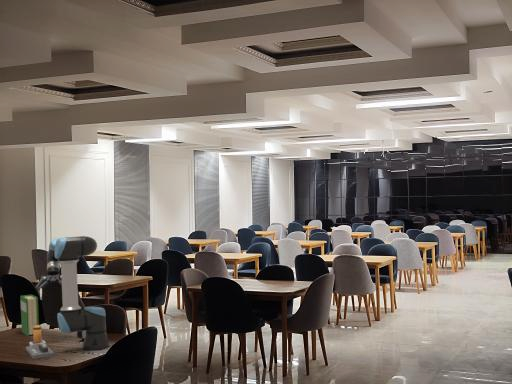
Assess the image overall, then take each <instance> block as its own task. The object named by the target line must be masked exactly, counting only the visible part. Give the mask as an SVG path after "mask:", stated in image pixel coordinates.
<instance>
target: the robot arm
mask: <svg viewBox="0 0 512 384" xmlns="http://www.w3.org/2000/svg"><path fill="white" fill-rule="evenodd" d="M48 245H49V246H48V250H47V254H46V261H47V262H46V276H44V275H41V277H40V280H39V281H38V283H36V285H35V290H36V291H38V295H40V296H39V299H40V300H43V289H44V288H45V287H46V286H47V285H49V284H50V283H51V284H53V283H54V284H55V283H56V284H57V283H58V284H59V285H60V286H61V293H62V294H61V297H62V298H61V300H62V306H61V308H60V310H59V311H60V312H58V313H57V314H56V316H57V324H58V328H59V331H60V332H61V333H63V334H67V333H68V334H69V333H70V334H71V333H78V331H86V335H85V338H83V339H84V340H83V343H82V349H83V350H87V351H97V350H105V349H108V348H109V347H110V345H111V342H110V340H109V337H108V334H107V324H106V323H107V321H106V320H107V319H106V316H107V315H106V309H105V308H104V307H100V306H85V307H84V308H83V310H82V307H81V306H80V304H79V290H78V270H77V269H78V267H77V264H78V262H79V261H80V258H81V257H87V256H90V255H92V254H93V253H94V254H95V251H97V248H98V243H97V241H96V240H95V238H93V237H90V236H86V235H84V236H82V235H81V236H64V237H58V238H57V237H55V238H53V239H51V240H50V242H49V244H48ZM60 270H61V275H60Z"/></svg>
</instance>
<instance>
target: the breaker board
mask: <svg viewBox="0 0 512 384" xmlns="http://www.w3.org/2000/svg"><path fill="white" fill-rule="evenodd" d="M28 343H29V346H25V351H26V352H27V353H28V355H29V356H30V357H31V358H32V359H33V360H38V359H43V358H49V357H55V352H54V351H53V350H52V349H51V347H49V346H48V345H47V342H46V341H45V340H43V339H42V343H37V344H34V341H29V342H28Z"/></svg>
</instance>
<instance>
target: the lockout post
mask: <svg viewBox="0 0 512 384" xmlns="http://www.w3.org/2000/svg"><path fill="white" fill-rule="evenodd" d="M32 335H33V342H34V344H37V343H42V340H43V338H42V325H41V324H39V325H35V326H33V334H32Z"/></svg>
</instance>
